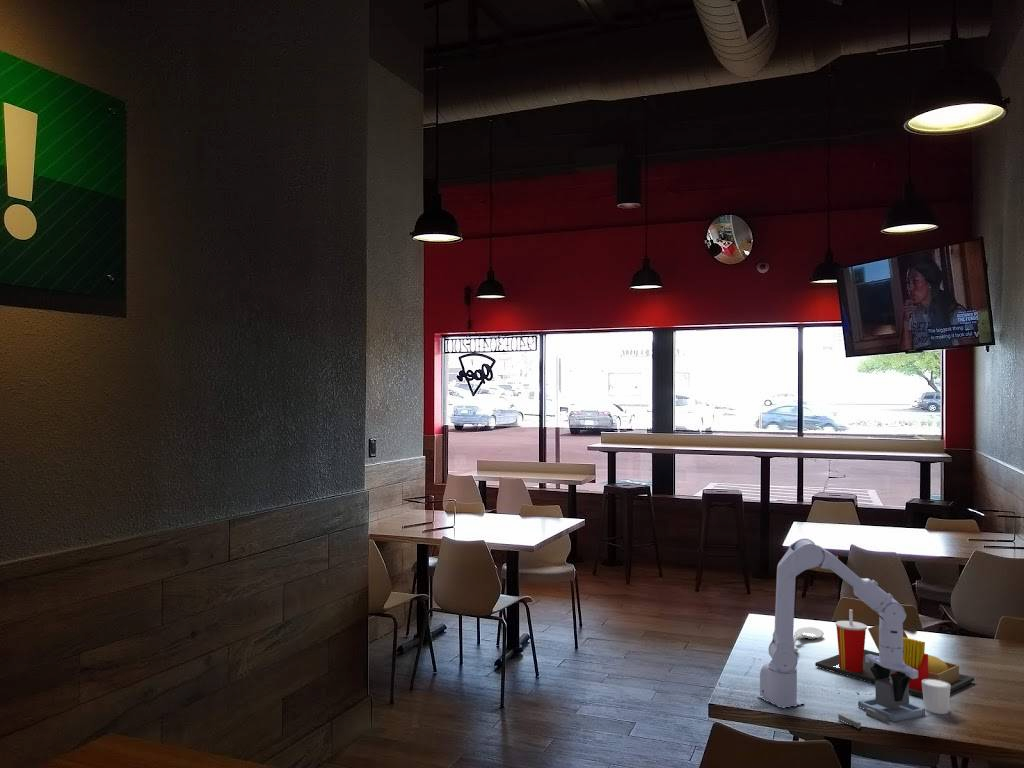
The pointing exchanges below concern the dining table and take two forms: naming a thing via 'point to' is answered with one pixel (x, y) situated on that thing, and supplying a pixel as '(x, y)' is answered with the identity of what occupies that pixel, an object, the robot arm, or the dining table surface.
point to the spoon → (806, 630)
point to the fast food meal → (855, 655)
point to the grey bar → (889, 694)
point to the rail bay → (868, 711)
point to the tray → (894, 710)
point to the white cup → (936, 695)
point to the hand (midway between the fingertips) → (891, 697)
